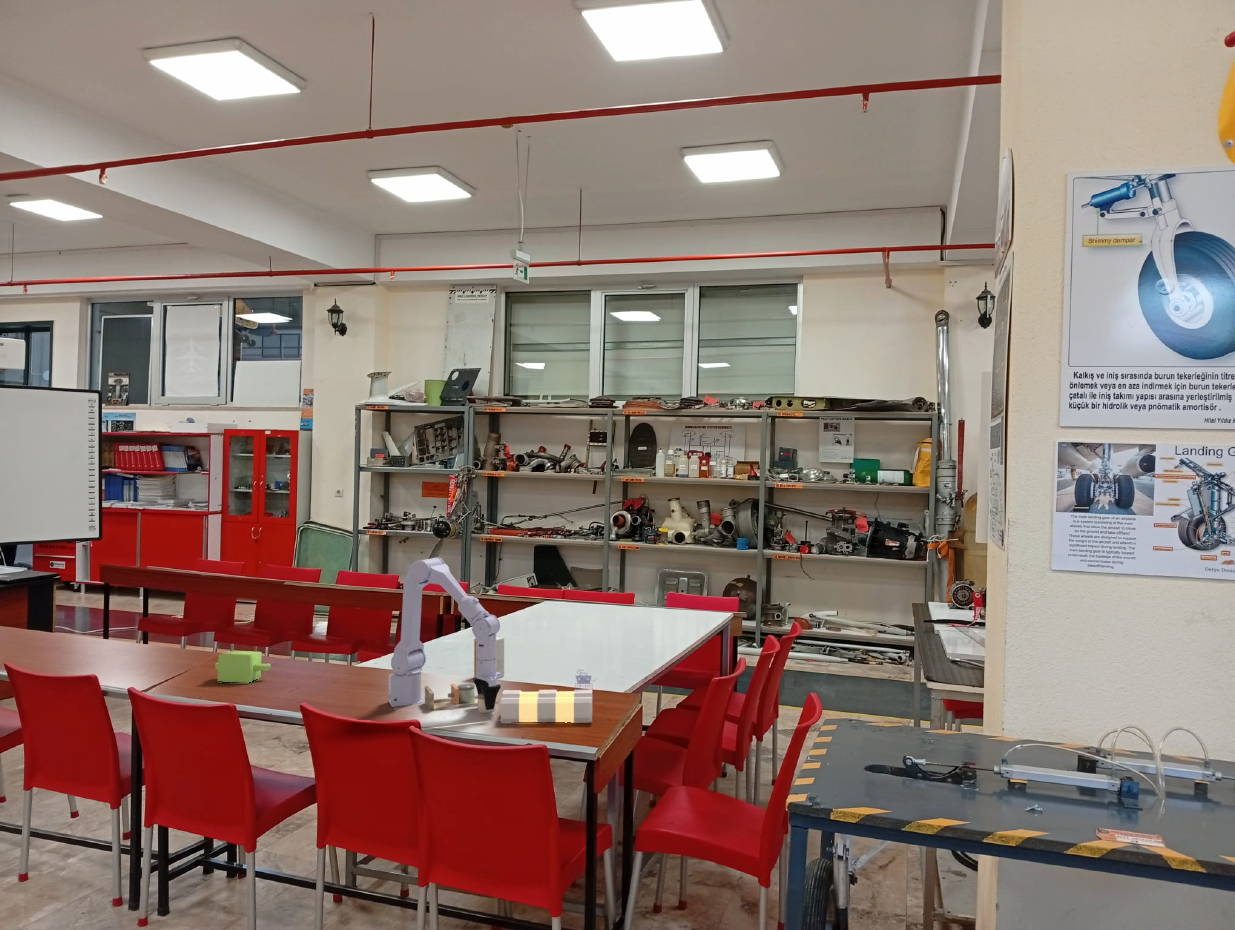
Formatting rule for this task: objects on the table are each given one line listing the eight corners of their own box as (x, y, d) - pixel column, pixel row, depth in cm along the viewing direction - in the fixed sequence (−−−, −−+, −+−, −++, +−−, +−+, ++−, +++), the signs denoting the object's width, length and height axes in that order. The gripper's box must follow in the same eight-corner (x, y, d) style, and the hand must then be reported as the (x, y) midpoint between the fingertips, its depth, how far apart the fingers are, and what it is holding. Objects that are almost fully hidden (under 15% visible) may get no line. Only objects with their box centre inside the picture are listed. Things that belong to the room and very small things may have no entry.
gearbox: (276, 679, 294) (277, 650, 294) (261, 684, 284) (262, 655, 285) (225, 676, 296) (226, 648, 296) (209, 682, 286) (210, 653, 286)
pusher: (450, 707, 254) (450, 689, 254) (446, 701, 260) (445, 684, 260) (459, 706, 255) (458, 688, 255) (454, 700, 261) (454, 683, 261)
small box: (473, 677, 292) (473, 638, 292) (485, 673, 298) (485, 635, 298) (493, 680, 288) (493, 640, 288) (504, 676, 294) (504, 637, 294)
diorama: (592, 714, 250) (592, 668, 250) (592, 724, 239) (592, 676, 239) (504, 714, 249) (504, 668, 249) (500, 725, 239) (500, 677, 239)
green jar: (459, 705, 255) (459, 688, 255) (455, 701, 260) (455, 684, 260) (476, 704, 257) (476, 687, 257) (472, 699, 262) (472, 683, 262)
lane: (430, 713, 250) (430, 693, 250) (424, 704, 259) (424, 685, 259) (499, 705, 257) (499, 686, 257) (490, 697, 267) (490, 679, 267)
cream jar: (480, 715, 248) (479, 697, 248) (475, 710, 252) (475, 693, 252) (497, 713, 250) (497, 695, 250) (492, 708, 254) (492, 691, 254)
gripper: (506, 662, 246) (506, 710, 246) (493, 652, 259) (494, 698, 259) (481, 664, 243) (482, 713, 243) (470, 654, 257) (470, 701, 256)
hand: (486, 706), depth 251 cm, fingers open, 7 cm apart
